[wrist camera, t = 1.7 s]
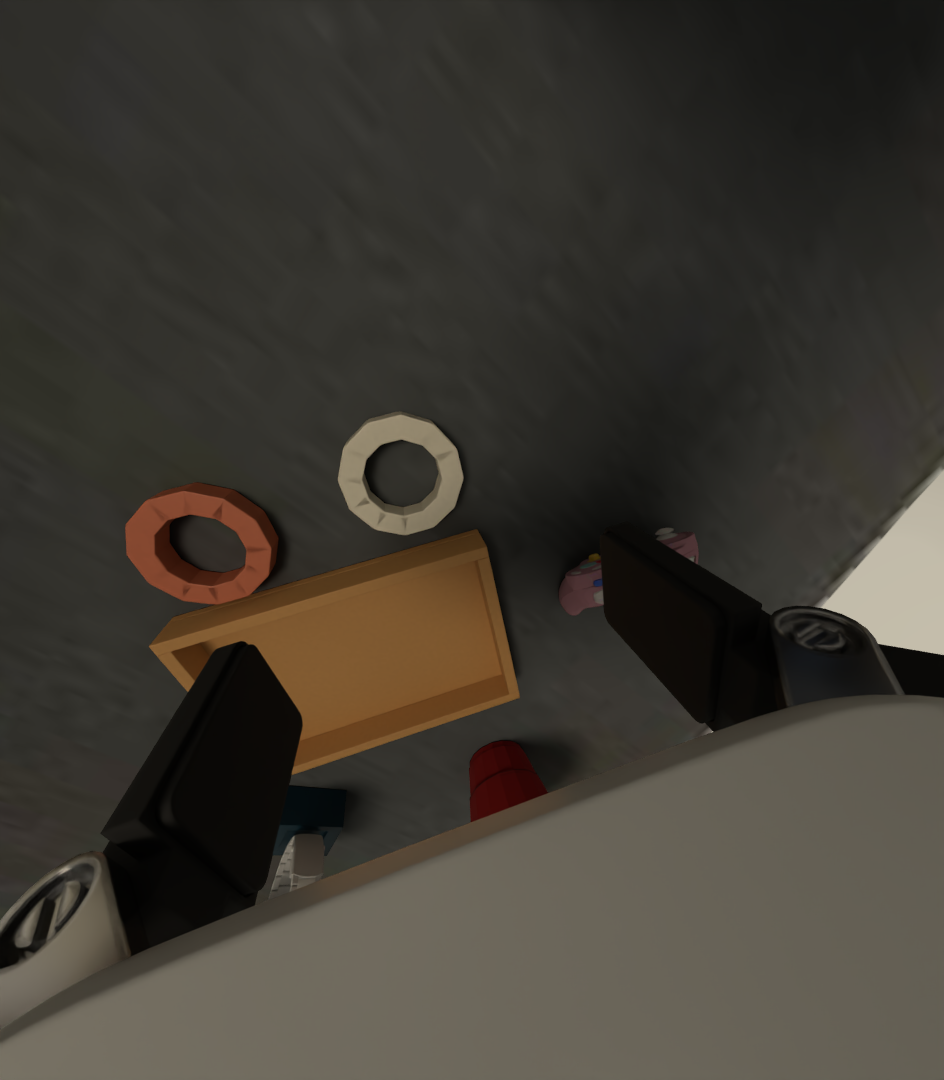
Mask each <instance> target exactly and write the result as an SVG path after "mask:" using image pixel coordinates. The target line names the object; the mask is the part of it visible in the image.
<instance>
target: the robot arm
mask: <svg viewBox="0 0 944 1080" xmlns="http://www.w3.org/2000/svg"><path fill="white" fill-rule="evenodd" d="M600 555H601V571H602V586H603V602H604V613H605V617H606V619H607V621H608V623H609V624H610V625H611V626H612V627H613V629H614V630H615V631H616V632H617V633H618V634H619V635H620V636H621V638H622V639H623V640H624V641H625V642H626V643H627V644H628V645H629V646H630V648H631V649H632V650H633V651H634V652H635V653H636V654H637V655H638V657H639V658H640V659H641V660H642V661H643V662H644V663H645V664H646V666H647V667H648V668H649V669H650V670H651V671H652V672H653V673H654V674H655V676H656V677H657V678H658V679H659V680H660V681H661V682H662V683H663V685H664V686H665V687H666V688H667V689H668V690H669V691H670V692H671V694H672V695H673V696H674V697H675V698H676V699H677V700H678V701H679V702H680V704H681V705H682V706H683V707H684V708H685V709H686V710H687V711H688V713H689V714H690V715H691V716H692V717H693V718H694V719H695V720H696V721H697V722H699V723H706V724H707V725H708V726H709V727H710V729H711V730H712V731H713V732H712V733H710V734H707V735H704V736H701V737H698V738H695V739H693V740H690V741H687V742H684V743H681V744H679V745H676V746H673V747H670V748H668V749H665V750H662V751H660V752H657V753H654V754H652V755H649V756H646V757H644V758H641V759H638V760H636V761H633V762H630V763H628V764H625V765H622V766H620V767H617V768H614V769H612V770H609V771H606V772H603V773H601V774H598V775H595V776H593V777H590V778H587V779H585V780H582V781H579V782H577V783H574V784H571V785H569V786H566V787H563V788H561V789H558V790H555V791H553V792H550V793H547V794H545V795H542V796H539V797H537V798H534V799H532V800H529V801H526V802H524V803H521V804H518V805H516V806H513V807H510V808H508V809H505V810H502V811H500V812H497V813H495V814H492V815H489V816H487V817H484V818H481V819H479V820H476V821H473V822H471V823H468V824H466V825H463V826H460V827H458V828H455V829H452V830H450V831H447V832H445V833H442V834H439V835H437V836H434V837H431V838H429V839H426V840H424V841H421V842H418V843H416V844H413V845H410V846H408V847H405V848H403V849H400V850H397V851H395V852H392V853H389V854H387V855H384V856H382V857H379V858H377V859H374V860H371V861H369V862H366V863H364V864H361V865H358V866H356V867H353V868H351V869H348V870H345V871H343V872H340V873H338V874H335V875H332V876H330V877H327V878H325V879H322V880H319V881H317V882H314V883H312V884H309V885H307V886H304V887H301V888H299V889H296V890H294V891H291V892H288V893H286V894H283V895H281V896H278V897H275V898H273V899H270V900H268V901H265V902H262V903H260V904H257V905H255V902H256V897H257V893H258V891H259V890H261V889H262V888H263V886H264V884H265V883H266V880H267V877H268V872H269V868H270V864H271V860H272V855H273V851H274V847H275V843H276V838H277V834H278V830H279V826H280V821H281V817H282V813H283V809H284V804H285V800H286V796H287V792H288V787H289V783H290V779H291V775H292V770H293V766H294V762H295V758H296V753H297V749H298V745H299V741H300V736H301V732H302V727H303V721H302V716H301V714H300V712H299V710H298V709H297V707H296V706H295V704H294V703H293V701H292V700H291V698H290V697H289V695H288V694H287V692H286V691H285V689H284V688H283V686H282V685H281V683H280V682H279V680H278V679H277V677H276V675H275V674H274V672H273V671H272V669H271V668H270V666H269V665H268V663H267V662H266V660H265V659H264V657H263V656H262V654H261V653H260V651H259V650H258V648H257V647H256V646H255V645H253V644H249V645H248V643H246V642H244V641H239V642H236V643H233V644H230V645H226V646H223V647H220V648H217V649H215V651H214V652H213V653H212V655H211V656H210V658H209V659H208V661H207V663H206V664H205V666H204V667H203V669H202V671H201V672H200V674H199V676H198V677H197V679H196V680H195V682H194V684H193V685H192V687H191V688H190V690H189V692H188V693H187V695H186V696H185V698H184V700H183V701H182V703H181V705H180V706H179V708H178V709H177V711H176V713H175V714H174V716H173V717H172V719H171V721H170V722H169V724H168V725H167V727H166V729H165V730H164V732H163V734H162V735H161V737H160V738H159V740H158V742H157V743H156V745H155V746H154V748H153V750H152V751H151V753H150V755H149V756H148V758H147V759H146V761H145V763H144V764H143V766H142V767H141V769H140V771H139V772H138V774H137V775H136V777H135V779H134V780H133V782H132V784H131V785H130V787H129V788H128V790H127V792H126V793H125V795H124V796H123V798H122V800H121V801H120V803H119V804H118V806H117V808H116V809H115V811H114V813H113V814H112V816H111V817H110V819H109V821H108V822H107V824H106V825H105V827H104V829H103V830H102V832H101V833H100V834H102V835H103V836H104V837H106V838H107V839H108V840H110V841H109V843H108V845H107V846H106V848H105V850H104V851H103V853H102V852H96V851H90V852H86V853H83V854H79V855H77V856H75V857H73V858H71V859H69V860H67V861H66V862H64V863H62V864H60V865H59V866H58V867H56V868H55V869H53V870H52V871H51V872H49V873H48V874H46V875H45V876H44V877H43V878H41V879H40V880H39V881H38V882H37V883H36V884H35V885H34V886H32V887H31V888H30V889H29V890H28V891H27V892H26V893H25V894H24V895H23V896H22V897H21V898H20V899H19V900H18V901H17V902H16V903H15V904H14V905H13V906H12V908H11V909H10V910H9V911H8V912H7V913H6V914H5V915H4V917H3V918H2V919H1V921H0V1080H944V655H940V654H933V653H928V652H922V651H916V650H910V649H904V648H898V647H893V646H886V645H881V644H878V643H877V641H876V639H875V638H874V637H873V635H872V634H871V633H870V632H869V631H868V629H866V628H865V627H864V626H862V625H861V624H859V623H858V622H857V621H855V620H853V619H851V618H849V617H847V616H844V615H842V614H840V613H837V612H833V611H830V610H827V609H822V608H817V607H811V606H791V607H785V608H782V609H779V610H777V611H775V612H774V613H773V614H772V615H769V614H768V613H766V612H765V611H763V610H761V608H762V604H761V603H760V602H758V601H756V600H755V599H753V598H752V597H750V596H748V595H747V594H745V593H743V592H742V591H740V590H738V589H737V588H735V587H734V586H732V585H730V584H729V583H727V582H725V581H724V580H722V579H721V578H719V577H717V576H716V575H714V574H712V573H711V572H709V571H707V570H706V569H704V568H703V567H701V566H699V565H698V564H696V563H694V562H693V561H691V560H689V559H688V558H686V557H685V556H683V555H681V554H680V553H678V552H676V551H675V550H673V549H671V548H670V547H668V546H667V545H665V544H663V543H662V542H660V541H658V540H657V539H655V538H654V537H652V536H650V535H649V534H647V533H645V532H644V531H642V530H640V529H639V528H637V527H636V526H634V525H632V524H631V523H628V522H624V523H621V524H617V525H614V526H611V527H608V528H606V529H605V531H604V534H603V535H601V536H600Z"/></svg>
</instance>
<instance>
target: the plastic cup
mask: <svg viewBox="0 0 944 1080" xmlns="http://www.w3.org/2000/svg"><path fill="white" fill-rule="evenodd" d="M469 775H470V793H471V797H470V812H471V822H473V821H476V820H479V819H481V818H484V817H487V816H489V815H492V814H495V813H497V812H500V811H502V810H505V809H508V808H510V807H513V806H516V805H518V804H521V803H524V802H526V801H529V800H532V799H534V798H537V797H539V796H542V795H545V794H547V793H548V792H547V790H546V788H545V787H544V785H543V783H542V781H541V780H540V778H539V776H538V775H537V773H536V772H535V770H534V769H533V767H532V765H531V763H530V761H529V759H528V757H527V755H526V754H525V752H524V751H523V750H522V749H521V747H520V746H519V744H516V743H514V742H512V741H498V742H494V743H490V744H488V745H486V746H484V747H482V748H481V749H480V750H479V751H477V752H476V753H475V754H474V755H473V757H472V759H471V761H470V768H469Z"/></svg>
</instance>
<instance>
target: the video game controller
mask: <svg viewBox="0 0 944 1080" xmlns="http://www.w3.org/2000/svg"><path fill="white" fill-rule="evenodd" d="M673 530H674V529H673V528H668V527H667V528H662V529H660V530H658V531H657V532H656V533H655V535H660V536H658V537H657V538H656V539H657V540H658V541H660V542H662V543H663V544H665V545H667V546H668V547H670V548H671V549H673V550H675V551H676V552H678V553H680V554H681V555H683V556H685V557H686V558H688V559H689V560H691V561H693V562H694V563H696V564H698V556H699V551H698V544H697V541H696V538H695V535H694V533H693V532H681V533H669V532H671V531H673ZM565 576H566V577H565V578H564V580H563V581H562V583H561V585H560V588H559V600H560V603H561V605H562V607H563V608H564V609H565V611H566V612H567V613H568V614H570V615H573V616H575V615H578V614H579V613H580V612H581V611H582V610H584V609H585V608H591V607H598V606H602V605H604V602H603V586H602V571H601V555H598V554H597V553H595V554H591V555H590V556H589V559H586V560H584V561H582V562H581V563H580V565H579V566H577V567H576V568H574V569H572V570H570V571H568V572H567V573H566V574H565Z"/></svg>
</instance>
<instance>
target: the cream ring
mask: <svg viewBox="0 0 944 1080" xmlns="http://www.w3.org/2000/svg"><path fill="white" fill-rule="evenodd" d="M401 439H402V440H405V441H409V442H412V443H416V444H420V445H423V446H424V447H425V448H426V450H427V451H428V452H429V453H430V454H431V455H432V456H433V457H434V458H435V461H436V465H437V468H438V472H439V473H438V477H437V480H436V484H435V487H434V490H433V491H432V492H431V493H430V494H429V495H428V496H427V497H426V498H425V499H424V500H423V501H422V502H420V503H417V504H413V505H410V506H406V507H399V506H395V505H390V504H386V503H384V502H383V501H381V500H380V499H379V498H378V497H377V496H376V495H374V494H373V493H372V492H371V491H370V489H369V486H368V483H367V480H366V478H365V475H364V470H365V465H366V460H367V459H368V458H369V457H370V456H371V455H372V454H373V452H374V451H375V450H376V449H377V448H378V447H379V446H380V445H382V444H386V443H390V442H394V441H397V440H401ZM463 479H464V477H463V473H462V468H461V464H460V460H459V455H458V451H457V448H456V447H455V446H454V444H453V443H452V442H451V441H450V440H449V439H448V438H447V437H446V436H445V435H444V434H443V433H442V431H441V430H440V429H439V428H438V427H437V426H436V425H435V424H434V423H433V422H432V421H431V420H428V419H425V418H421V417H418V416H415V415H411V414H408V413H405V412H401V411H400V412H399V411H398V412H394V413H390V414H386V415H382V416H378V417H374V418H370V419H368V420H367V421H366V422H365V423H364V424H363V425H362V426H361V427H360V428H359V429H358V430H357V431H356V432H355V433H354V434H353V435H352V437H351V438H350V439H349V440H348V441H347V442H346V444H345V446H344V448H343V452H342V458H341V463H340V469H339V475H338V482H339V485H340V487H341V490H342V492H343V495H344V497H345V500H346V502H347V504H348V507H349V509H350V510H351V511H352V512H353V513H354V514H356V515H357V516H358V517H359V518H361V519H362V520H363V521H365V522H366V523H367V524H368V525H370V526H371V527H372V528H373V529H375V530H379V531H384V532H390V533H395V534H400V535H409V534H412V533H416V532H419V531H423V530H426V529H430V528H433V527H435V526H436V525H437V524H438V523H439V522H440V521H441V520H442V519H443V518H444V517H445V516H446V515H447V514H448V513H449V512H450V511H452V510H453V509H454V508H455V505H456V502H457V499H458V495H459V492H460V489H461V486H462V482H463Z"/></svg>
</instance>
